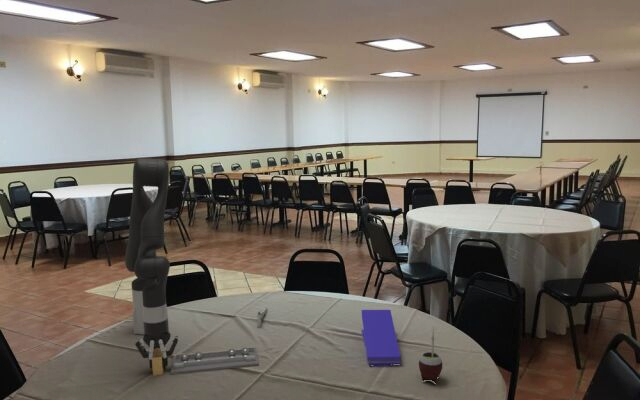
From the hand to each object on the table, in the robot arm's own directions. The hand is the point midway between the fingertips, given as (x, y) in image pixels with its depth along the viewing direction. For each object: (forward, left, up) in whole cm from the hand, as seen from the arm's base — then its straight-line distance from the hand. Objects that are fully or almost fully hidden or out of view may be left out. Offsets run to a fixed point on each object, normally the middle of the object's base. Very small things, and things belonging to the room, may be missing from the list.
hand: (158, 368), depth 167 cm
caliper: (+37, +37, -1) cm, 52 cm away
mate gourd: (+83, -25, -1) cm, 87 cm away
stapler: (+75, 0, -1) cm, 75 cm away
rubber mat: (+18, +2, -1) cm, 18 cm away
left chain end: (+12, +2, 0) cm, 12 cm away
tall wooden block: (0, 0, -1) cm, 1 cm away
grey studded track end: (+25, +2, 0) cm, 25 cm away
